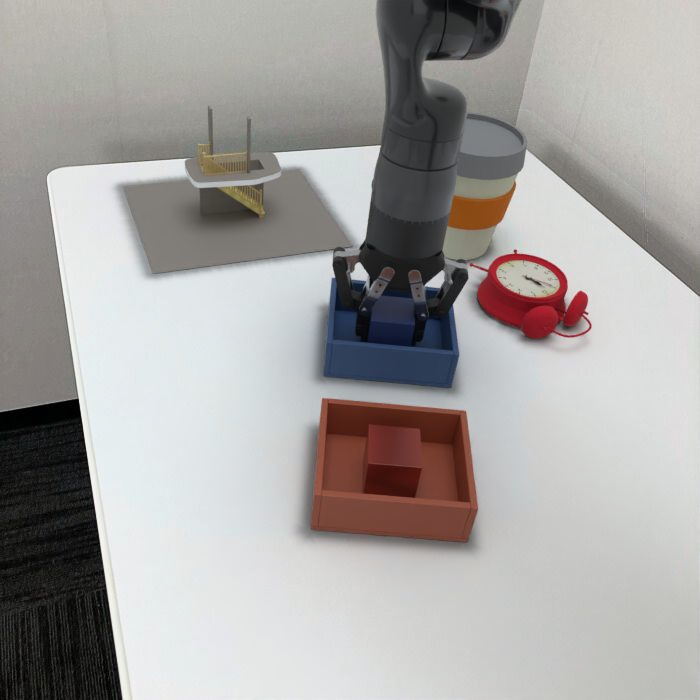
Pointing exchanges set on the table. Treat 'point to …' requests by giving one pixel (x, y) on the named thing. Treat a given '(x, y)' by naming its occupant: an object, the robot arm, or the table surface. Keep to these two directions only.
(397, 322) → the navy block
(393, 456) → the red block
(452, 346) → the blue bin
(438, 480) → the terracotta bin
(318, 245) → the architectural model
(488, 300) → the alarm clock
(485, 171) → the reusable coffee cup
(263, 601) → the table surface
